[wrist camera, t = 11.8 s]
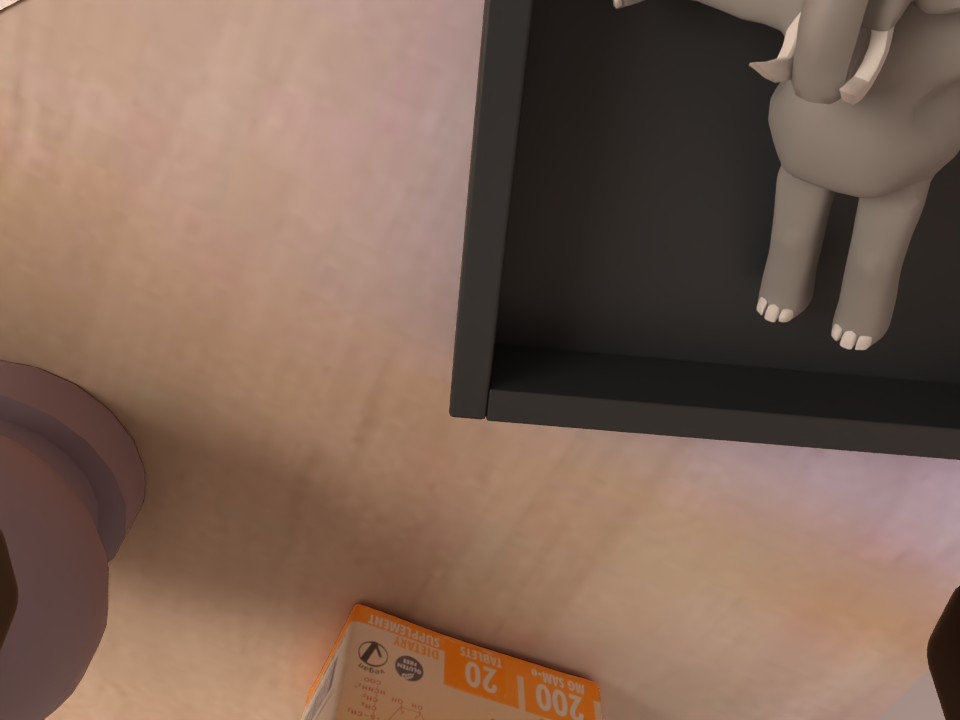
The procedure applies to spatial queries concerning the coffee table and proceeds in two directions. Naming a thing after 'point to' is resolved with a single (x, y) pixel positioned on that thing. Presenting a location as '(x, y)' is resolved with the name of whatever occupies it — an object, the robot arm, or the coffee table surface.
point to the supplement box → (437, 679)
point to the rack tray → (673, 247)
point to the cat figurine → (58, 531)
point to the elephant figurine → (853, 142)
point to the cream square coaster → (6, 3)
